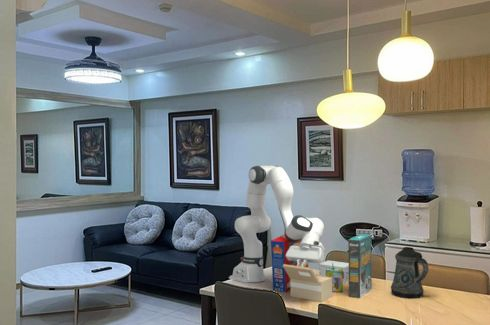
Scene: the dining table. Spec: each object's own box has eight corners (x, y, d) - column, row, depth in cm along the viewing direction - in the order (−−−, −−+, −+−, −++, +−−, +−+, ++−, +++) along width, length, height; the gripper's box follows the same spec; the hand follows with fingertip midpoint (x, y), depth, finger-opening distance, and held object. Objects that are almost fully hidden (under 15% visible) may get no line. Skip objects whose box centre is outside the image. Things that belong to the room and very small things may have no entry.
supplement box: (318, 279, 291) (318, 263, 291) (328, 274, 302) (328, 259, 302) (345, 282, 281) (345, 266, 281) (353, 278, 292) (353, 263, 292)
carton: (290, 296, 252) (290, 276, 252) (302, 291, 262) (301, 272, 262) (321, 302, 242) (320, 281, 242) (332, 296, 251) (331, 277, 251)
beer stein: (393, 289, 266) (393, 244, 266) (430, 293, 257) (430, 246, 257) (388, 296, 251) (388, 248, 251) (427, 301, 242) (427, 251, 242)
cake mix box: (360, 287, 270) (360, 234, 270) (371, 288, 267) (371, 234, 267) (348, 296, 251) (348, 239, 251) (360, 298, 248) (359, 240, 248)
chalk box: (342, 292, 259) (342, 265, 259) (325, 291, 261) (325, 264, 261) (342, 288, 268) (342, 261, 268) (326, 287, 270) (326, 261, 270)
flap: (290, 278, 251) (282, 266, 244) (291, 276, 251) (283, 264, 245) (317, 283, 241) (310, 270, 235) (318, 280, 242) (311, 268, 236)
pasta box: (285, 292, 260) (283, 242, 258) (273, 290, 265) (270, 240, 263) (308, 277, 284) (306, 231, 281) (296, 275, 288) (294, 229, 286)
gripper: (289, 240, 253) (279, 262, 245) (324, 243, 241) (315, 266, 233) (293, 247, 257) (284, 269, 249) (328, 250, 245) (319, 273, 237)
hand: (299, 267), depth 241 cm, fingers closed
